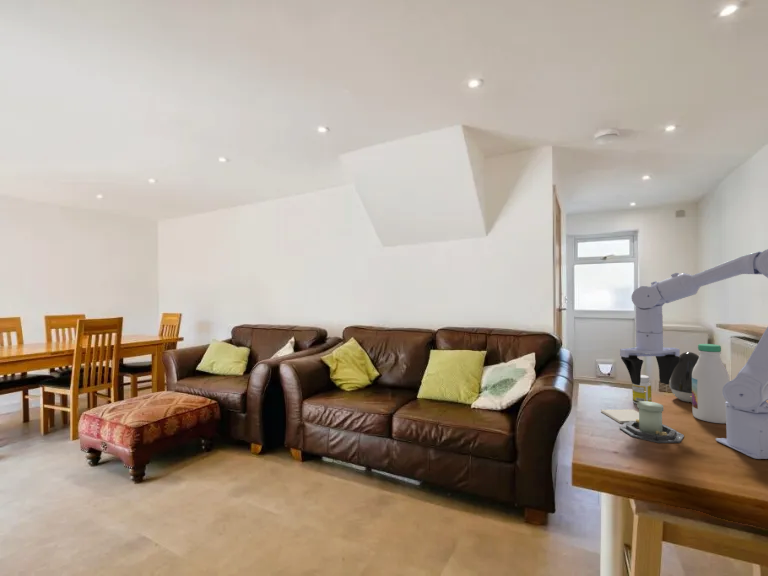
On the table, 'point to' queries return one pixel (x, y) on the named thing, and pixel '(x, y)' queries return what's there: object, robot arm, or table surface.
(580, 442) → the table surface
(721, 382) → the milk bottle
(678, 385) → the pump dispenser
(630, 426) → the bayonet collar
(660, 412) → the pale green jar
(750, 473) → the table surface
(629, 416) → the plate
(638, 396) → the supplement bottle
